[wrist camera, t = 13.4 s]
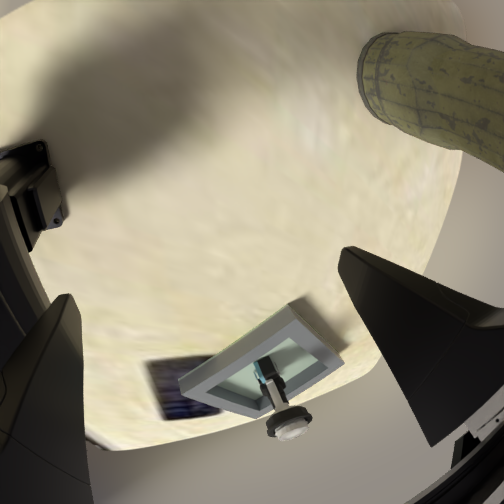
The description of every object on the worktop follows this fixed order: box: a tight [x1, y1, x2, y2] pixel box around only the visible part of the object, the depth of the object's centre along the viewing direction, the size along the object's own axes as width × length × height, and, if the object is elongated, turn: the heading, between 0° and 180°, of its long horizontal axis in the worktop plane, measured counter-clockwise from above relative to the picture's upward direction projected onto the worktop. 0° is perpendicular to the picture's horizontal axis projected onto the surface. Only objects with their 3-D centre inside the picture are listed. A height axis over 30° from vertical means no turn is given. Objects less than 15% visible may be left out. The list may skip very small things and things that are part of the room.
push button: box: [253, 356, 312, 441], centre depth 33 cm, size 7×5×10 cm
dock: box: [178, 304, 345, 419], centre depth 36 cm, size 16×16×3 cm
